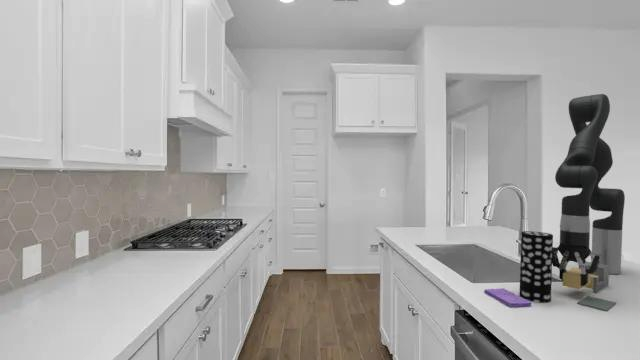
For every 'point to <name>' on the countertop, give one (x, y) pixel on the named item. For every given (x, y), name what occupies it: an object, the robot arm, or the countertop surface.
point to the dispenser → (598, 277)
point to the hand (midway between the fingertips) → (573, 283)
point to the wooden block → (573, 278)
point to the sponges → (507, 298)
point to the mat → (597, 303)
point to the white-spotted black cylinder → (536, 266)
